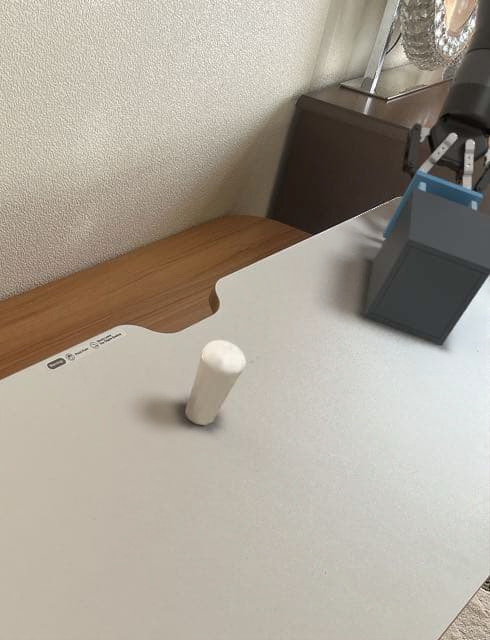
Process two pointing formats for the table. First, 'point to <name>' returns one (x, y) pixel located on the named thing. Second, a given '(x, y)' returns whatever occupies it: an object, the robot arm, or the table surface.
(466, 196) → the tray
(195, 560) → the table surface
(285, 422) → the table surface
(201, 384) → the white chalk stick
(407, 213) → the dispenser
